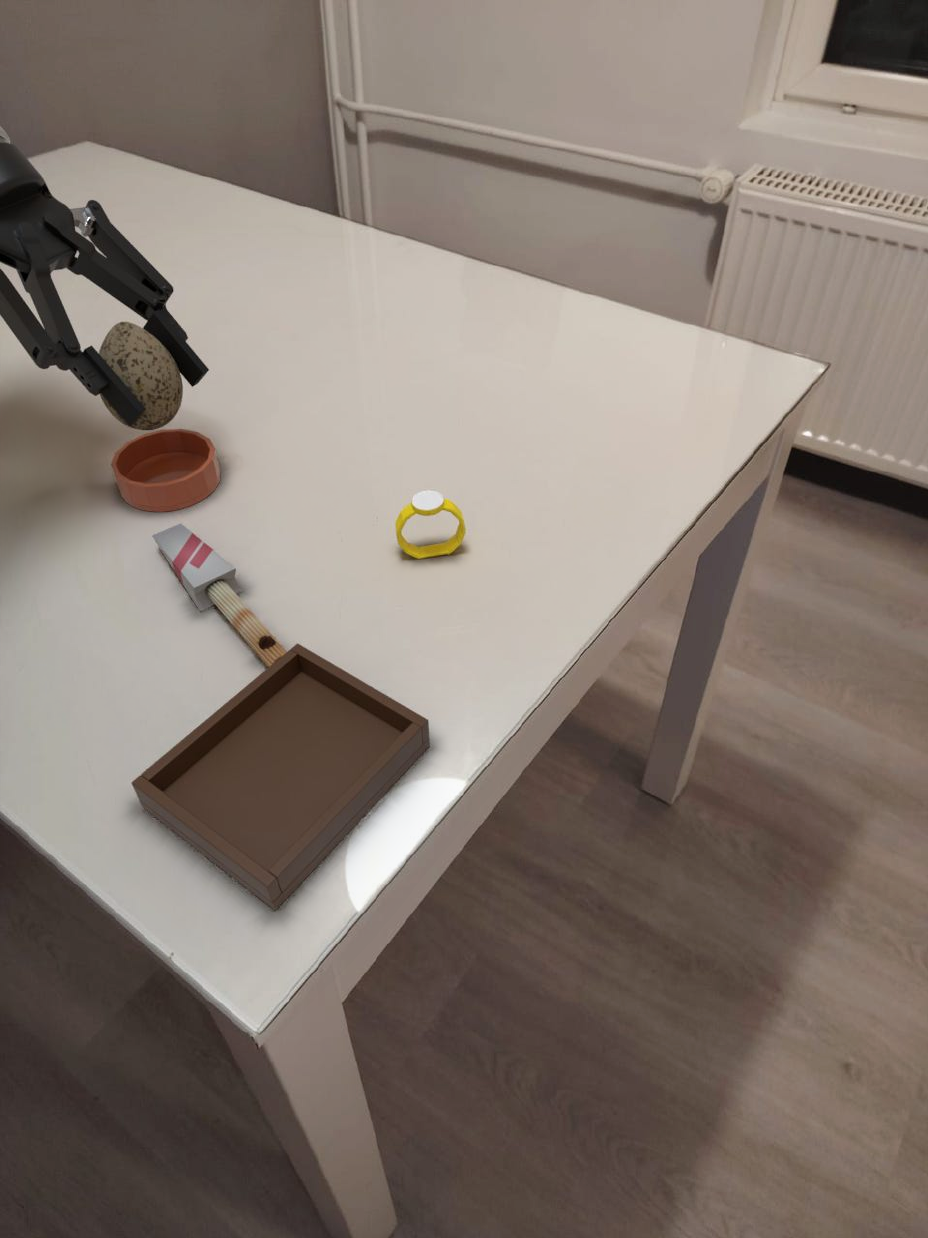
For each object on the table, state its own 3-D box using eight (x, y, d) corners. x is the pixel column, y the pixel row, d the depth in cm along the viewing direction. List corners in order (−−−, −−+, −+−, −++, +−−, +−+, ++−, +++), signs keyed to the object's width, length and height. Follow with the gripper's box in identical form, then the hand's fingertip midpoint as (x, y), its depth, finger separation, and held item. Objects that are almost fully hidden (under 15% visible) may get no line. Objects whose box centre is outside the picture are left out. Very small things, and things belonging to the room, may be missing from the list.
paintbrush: (183, 507, 77) (300, 641, 67) (189, 531, 79) (303, 664, 69) (142, 524, 75) (255, 664, 65) (149, 548, 77) (260, 687, 67)
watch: (462, 539, 79) (461, 485, 75) (467, 559, 77) (467, 505, 73) (396, 546, 78) (392, 493, 74) (400, 566, 76) (396, 513, 72)
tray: (275, 911, 53) (267, 887, 51) (142, 808, 59) (130, 782, 57) (430, 745, 62) (428, 719, 60) (302, 669, 68) (297, 642, 66)
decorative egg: (138, 455, 77) (106, 351, 70) (97, 425, 81) (62, 323, 74) (206, 424, 81) (182, 322, 74) (164, 396, 84) (137, 296, 77)
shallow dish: (111, 514, 82) (101, 488, 80) (130, 456, 88) (122, 431, 86) (214, 509, 82) (207, 483, 80) (225, 451, 89) (219, 426, 87)
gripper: (61, 164, 80) (228, 369, 86) (-142, 236, 68) (70, 470, 73) (83, 108, 74) (261, 330, 80) (-133, 175, 62) (96, 433, 68)
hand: (170, 397), depth 77 cm, fingers closed on decorative egg, 7 cm apart
